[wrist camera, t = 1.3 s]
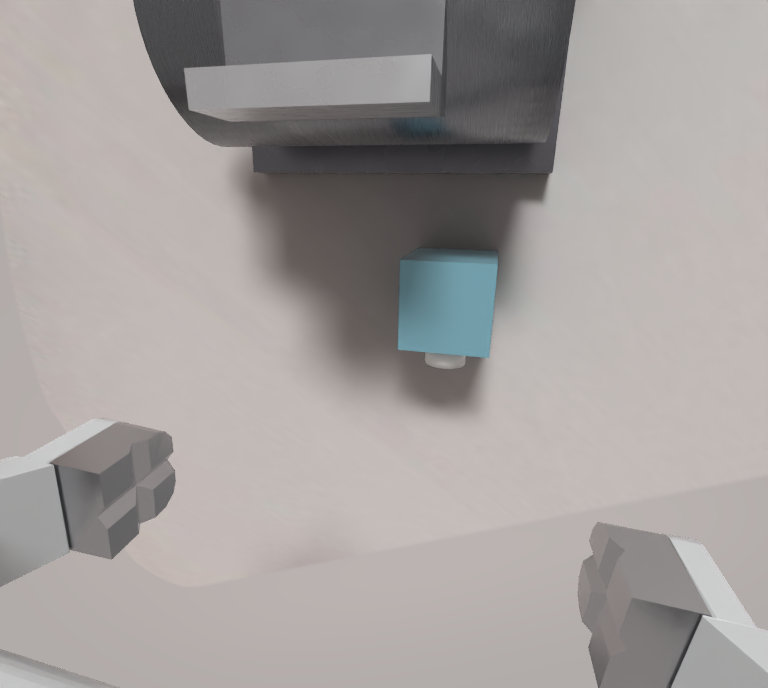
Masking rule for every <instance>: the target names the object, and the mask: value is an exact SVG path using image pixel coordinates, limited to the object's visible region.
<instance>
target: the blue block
mask: <svg viewBox="0 0 768 688" xmlns="http://www.w3.org/2000/svg"><path fill="white" fill-rule="evenodd" d="M497 268H498V251H487V250H462V249H436V248H417V249H416V250H414V251H413V252H411V253H410V254H408V255H407V256H405V257H404V258H402V259H401V260H400V279H399V321H398V350H407V351H418V352H425V362H426V364H428V365H430V366H432V367H435V368H440V369H456V368H460V367H462V366H464V365H465V360H466V356H472V357H483V358H489V352H490V342H491V331H492V321H493V310H494V300H495V289H496V279H497Z"/></svg>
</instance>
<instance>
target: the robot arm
mask: <svg viewBox="0 0 768 688" xmlns="http://www.w3.org/2000/svg"><path fill="white" fill-rule="evenodd" d="M172 453H173V444H172V437H171V436H170V435H169V434H167V433H166V432H164V431H159V430H155V429H151V428H146V427H142V426H138V425H133V424H129V423H125V422H120V421H115V420H111V419H106V418H93V419H92V420H90V421H88V422H86V423H84V424H82V425H81V426H79V427H77V428H75V429H73V430H72V431H70V432H68V433H66V434H64V435H62V436H61V437H59V438H57V439H55V440H53V441H52V442H50V443H48V444H46V445H45V446H43V447H41V448H39V449H37V450H35V451H33V452H32V453H30V454H28V455H26V456H24V457H18V456H14V457H9V458H5V459H1V460H0V587H1V586H3V585H5V584H7V583H9V582H11V581H13V580H15V579H17V578H19V577H21V576H23V575H25V574H27V573H29V572H31V571H33V570H35V569H37V568H39V567H41V566H43V565H45V564H47V563H49V562H51V561H53V560H55V559H57V558H59V557H61V556H63V555H65V554H68V553H69V552H70V550H73V551H77V552H81V553H86V554H90V555H94V556H99V557H103V558H107V559H113V558H114V557H115V556H116V555H117V554H118V553H119V552H120V551H121V550H122V549H123V548H124V547H125V546H126V545H127V544H128V543H129V542H130V541H131V540H133V539H134V538H135V537H136V536H137V535H138V534H139V529H140V523H143V522H145V521H148V520H150V519H152V518H155V517H156V516H157V515H158V514H159V513H160V512H161V511H162V510H163V509H164V508H165V507H166V506H167V504H168V502H169V500H170V498H171V496H172V494H173V492H174V487H175V481H176V480H175V470H174V468H173V467H172V465H171V464H170V463H169V461H168V460H167V459H168V458H169V457H170V455H171V454H172ZM589 541H590V545H591V548H592V551H593V555H592V556H590V557H589V558H587V559H586V560H584V561H583V563H582V568H581V571H580V575H579V583H578V601H579V609H580V614H581V618H582V622H583V623H584V624H585V625H586V626H587V627H588V629H589V630H590V631H591V632H592V633H593V634H592V637H591V640H590V644H589V647H588V648H589V652H590V656H591V660H592V664H593V668H594V672H595V676H596V680H597V684H598V688H768V630H764V629H759V628H757V627H756V626H755V624H754V623H753V621H752V620H751V618H750V616H749V615H748V613H747V612H746V610H745V609H744V607H743V606H742V604H741V602H740V601H739V600H738V598H737V596H736V595H735V593H734V592H733V590H732V589H731V587H730V586H729V584H728V583H727V581H726V580H725V578H724V576H723V575H722V573H721V572H720V570H719V569H718V567H717V566H716V564H715V563H714V561H713V559H712V558H711V556H710V555H709V553H708V552H707V550H706V549H705V547H704V546H703V545H702V544H701V543H699V542H698V541H697V540H695V539H690V538H684V537H679V536H673V535H667V534H657V533H652V532H647V531H641V530H637V529H632V528H627V527H622V526H617V525H612V524H607V523H601V522H597V524H596V525H595V526H594V528H593V531H592V534H591V537H590V540H589ZM0 688H119V687H116V686H113V685H110V684H107V683H104V682H101V681H98V680H95V679H91V678H88V677H85V676H82V675H79V674H76V673H73V672H70V671H66V670H64V669H61V668H58V667H54V666H51V665H48V664H45V663H42V662H39V661H36V660H33V659H30V658H26V657H24V656H20V655H17V654H14V653H11V652H8V651H5V650H2V649H0Z"/></svg>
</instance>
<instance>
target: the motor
mask: <svg viewBox="0 0 768 688" xmlns="http://www.w3.org/2000/svg"><path fill="white" fill-rule="evenodd" d="M133 1H134V7H135V12H136V16H137V20H138V24H139V28H140V31H141V34H142V37H143V41H144V44H145V47H146V50H147V52H148V55H149V58H150V60H151V63H152V65H153V68H154V70H155V72H156V74H157V76H158V78H159V80H160V82H161V85H162V87H163V88H164V90H165V92H166V94H167V95H168V97H169V99H170V101H171V102H172V104H173V105H174V107H175V108H176V110H177V111H178V113H179V114H180V115H181V116H182V118H183V119H184V120H185V121H186V123H187V124H188V125H189V126H190V127H191V128H192V129H193V130H194V131H195V132H196V133H197V134H198V135H200V136H201V137H202V138H204V139H205V140H207V141H208V142H210V143H212V144H214V145H218V146H221V147H252V151H253V165H254V172H258V173H377V174H550V173H552V171H553V164H554V156H555V148H556V140H557V132H558V124H559V116H560V108H561V100H562V92H563V84H564V76H565V68H566V61H567V53H568V45H569V37H570V31H571V25H572V19H573V12H574V6H575V0H133Z"/></svg>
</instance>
